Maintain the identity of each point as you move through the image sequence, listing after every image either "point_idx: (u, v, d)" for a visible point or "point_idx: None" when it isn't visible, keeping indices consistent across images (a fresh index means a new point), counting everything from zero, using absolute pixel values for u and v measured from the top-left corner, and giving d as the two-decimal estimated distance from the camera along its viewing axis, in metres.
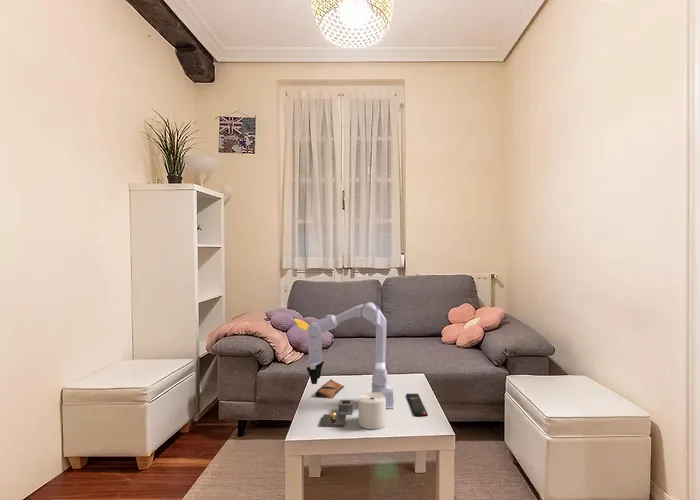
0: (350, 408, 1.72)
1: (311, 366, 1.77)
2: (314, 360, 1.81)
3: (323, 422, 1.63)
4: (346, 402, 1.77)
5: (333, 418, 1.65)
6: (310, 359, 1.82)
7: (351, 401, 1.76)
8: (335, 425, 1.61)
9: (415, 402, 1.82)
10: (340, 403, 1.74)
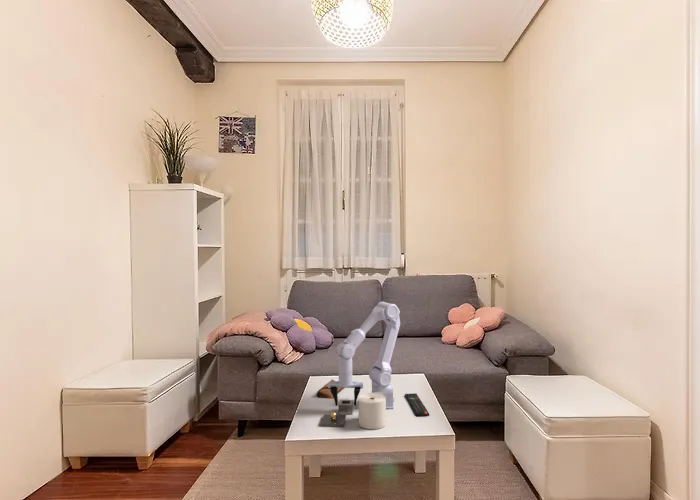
0: (350, 408, 1.72)
1: (328, 384, 1.76)
2: None
3: (323, 422, 1.63)
4: (346, 402, 1.77)
5: (333, 418, 1.65)
6: None
7: (351, 401, 1.76)
8: (335, 425, 1.61)
9: (415, 402, 1.82)
10: (340, 403, 1.74)
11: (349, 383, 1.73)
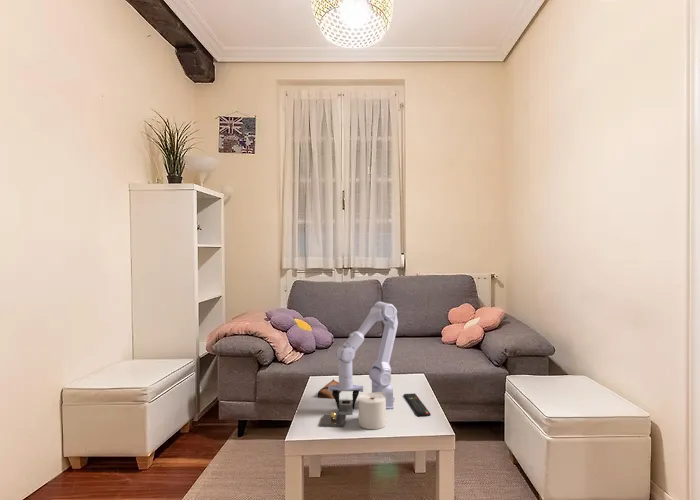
0: (350, 408, 1.72)
1: None
2: (338, 385, 1.75)
3: (323, 422, 1.63)
4: (346, 402, 1.77)
5: (333, 418, 1.65)
6: None
7: (351, 401, 1.76)
8: (335, 425, 1.61)
9: (415, 402, 1.82)
10: (340, 403, 1.74)
11: (349, 386, 1.73)
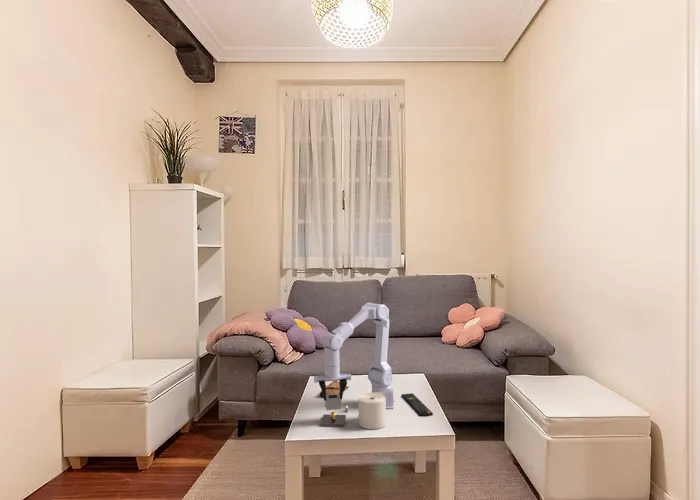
0: (339, 402, 1.63)
1: (314, 378, 1.65)
2: (325, 375, 1.65)
3: (323, 422, 1.63)
4: (332, 396, 1.67)
5: (333, 418, 1.65)
6: None
7: (338, 395, 1.67)
8: (335, 425, 1.61)
9: (415, 402, 1.82)
10: (327, 398, 1.64)
11: (337, 375, 1.64)
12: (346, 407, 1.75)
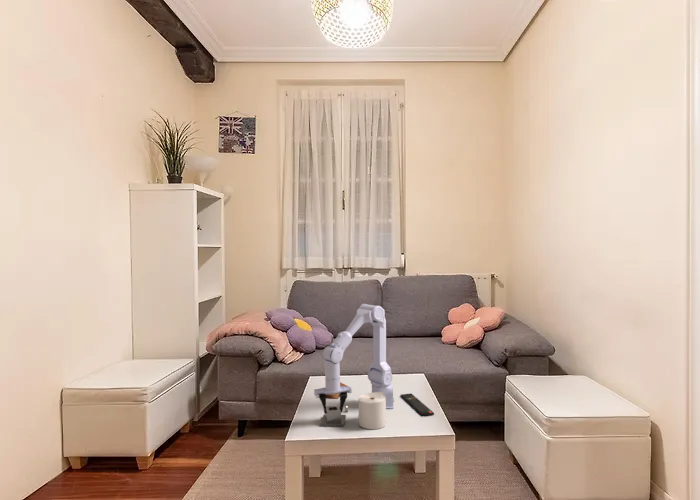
0: (339, 414, 1.64)
1: (314, 391, 1.65)
2: (325, 388, 1.65)
3: (323, 422, 1.63)
4: (332, 408, 1.68)
5: None
6: None
7: (338, 407, 1.67)
8: (335, 425, 1.61)
9: (414, 402, 1.82)
10: (328, 410, 1.64)
11: (338, 388, 1.64)
12: (346, 407, 1.75)
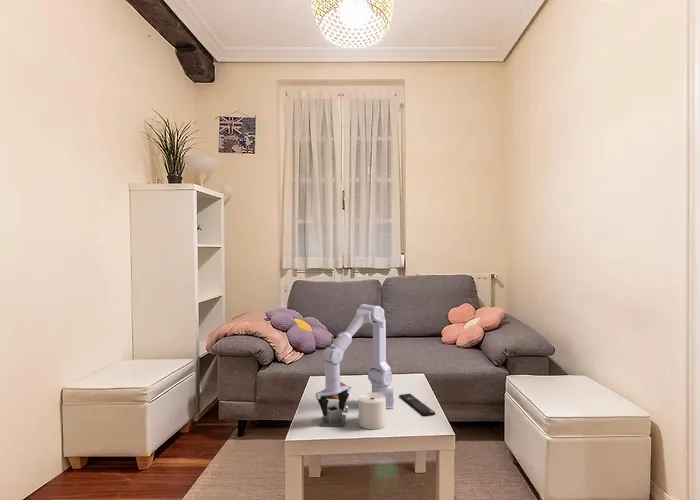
0: (340, 413, 1.64)
1: (316, 395, 1.62)
2: (326, 389, 1.64)
3: (323, 422, 1.63)
4: (331, 409, 1.67)
5: None
6: None
7: (336, 406, 1.68)
8: (335, 425, 1.61)
9: (414, 402, 1.82)
10: (329, 410, 1.64)
11: (339, 388, 1.65)
12: (346, 407, 1.75)
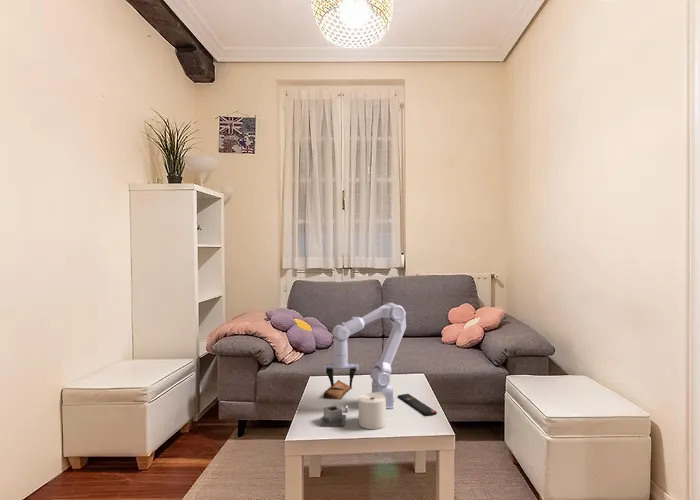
0: (340, 413, 1.64)
1: (324, 365, 1.78)
2: (334, 363, 1.77)
3: (323, 422, 1.63)
4: (331, 409, 1.67)
5: None
6: None
7: (336, 406, 1.68)
8: (335, 425, 1.61)
9: (414, 402, 1.82)
10: (329, 410, 1.64)
11: (344, 364, 1.75)
12: (346, 407, 1.75)
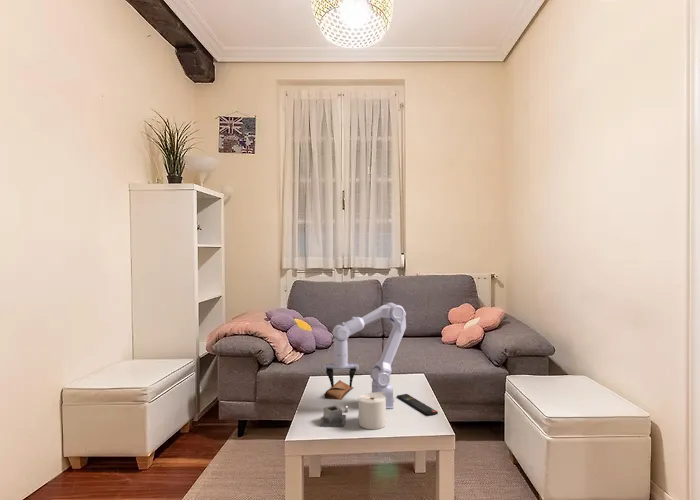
0: (340, 413, 1.64)
1: (324, 365, 1.78)
2: (334, 363, 1.77)
3: (323, 422, 1.63)
4: (331, 409, 1.67)
5: None
6: None
7: (336, 406, 1.68)
8: (335, 425, 1.61)
9: (414, 402, 1.82)
10: (329, 410, 1.64)
11: (344, 364, 1.75)
12: (346, 407, 1.75)
